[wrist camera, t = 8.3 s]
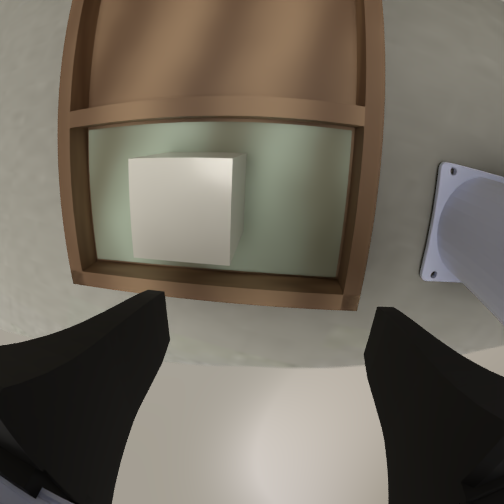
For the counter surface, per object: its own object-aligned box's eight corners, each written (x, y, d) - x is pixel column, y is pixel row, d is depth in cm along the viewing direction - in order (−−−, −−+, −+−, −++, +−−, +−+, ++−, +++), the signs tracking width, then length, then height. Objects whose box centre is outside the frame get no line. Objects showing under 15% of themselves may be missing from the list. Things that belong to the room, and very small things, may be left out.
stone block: (246, 153, 16) (232, 158, 11) (243, 231, 17) (229, 265, 13) (169, 152, 16) (128, 158, 12) (169, 226, 18) (133, 257, 13)
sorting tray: (364, -23, 12) (376, -44, 9) (347, 287, 19) (356, 310, 17) (100, -9, 13) (78, -23, 10) (95, 266, 21) (73, 283, 18)
